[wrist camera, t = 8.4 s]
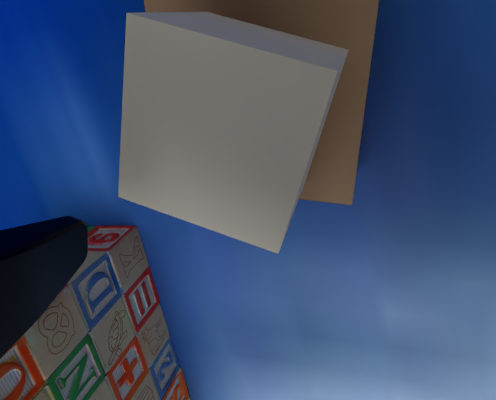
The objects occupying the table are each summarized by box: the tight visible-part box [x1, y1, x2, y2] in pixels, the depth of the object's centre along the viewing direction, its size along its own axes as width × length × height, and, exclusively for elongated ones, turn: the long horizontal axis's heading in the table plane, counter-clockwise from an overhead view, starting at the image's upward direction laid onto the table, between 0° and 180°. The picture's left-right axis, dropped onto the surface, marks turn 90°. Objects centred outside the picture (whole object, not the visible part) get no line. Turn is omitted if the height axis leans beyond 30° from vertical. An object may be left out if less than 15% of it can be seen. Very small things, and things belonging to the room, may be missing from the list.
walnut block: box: [144, 0, 379, 205], centre depth 15 cm, size 8×8×4 cm
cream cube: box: [118, 12, 349, 254], centre depth 12 cm, size 5×5×5 cm
